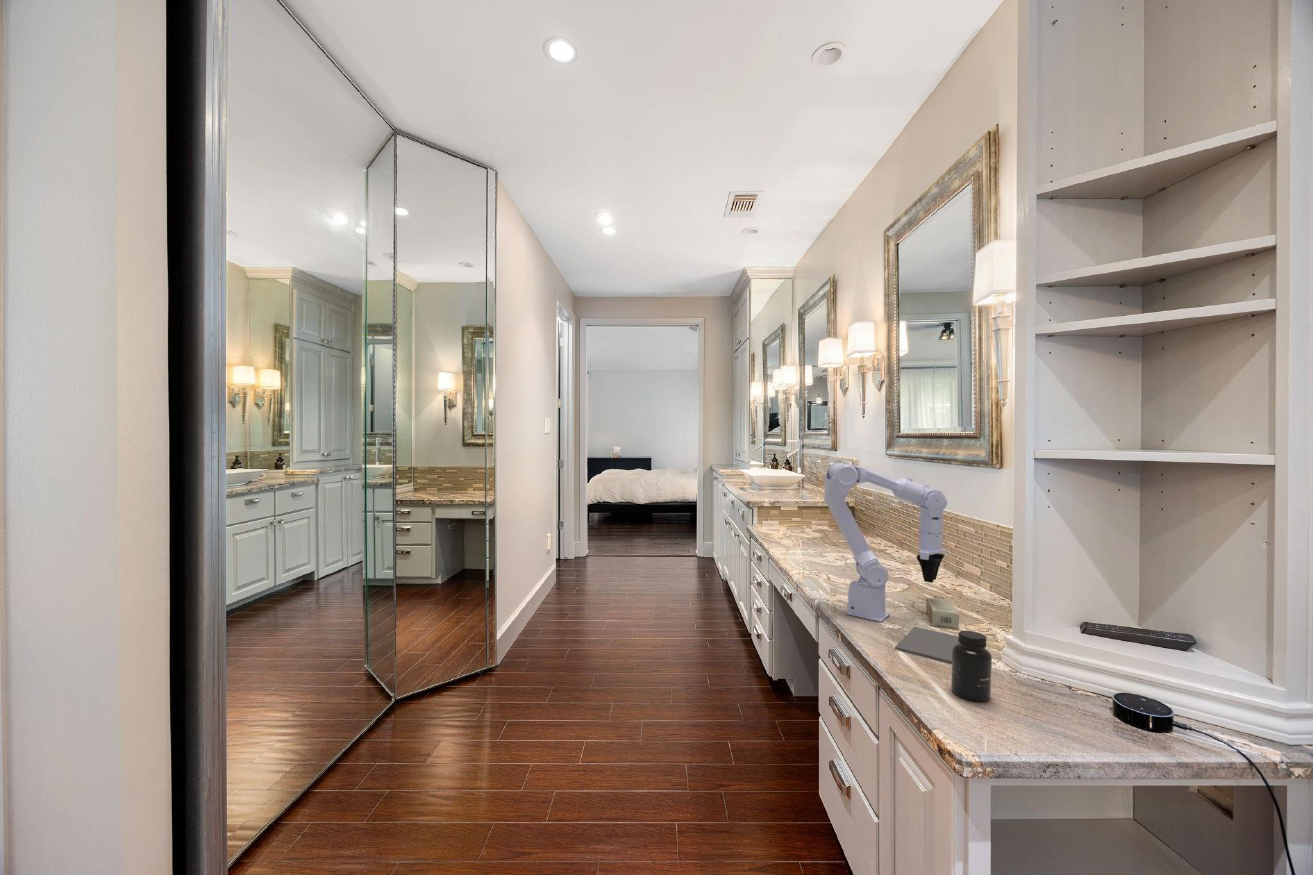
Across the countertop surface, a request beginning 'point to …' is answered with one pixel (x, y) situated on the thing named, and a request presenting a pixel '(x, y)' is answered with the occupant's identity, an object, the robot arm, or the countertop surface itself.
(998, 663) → the countertop surface
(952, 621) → the skincare box
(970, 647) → the supplement bottle
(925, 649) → the mat
